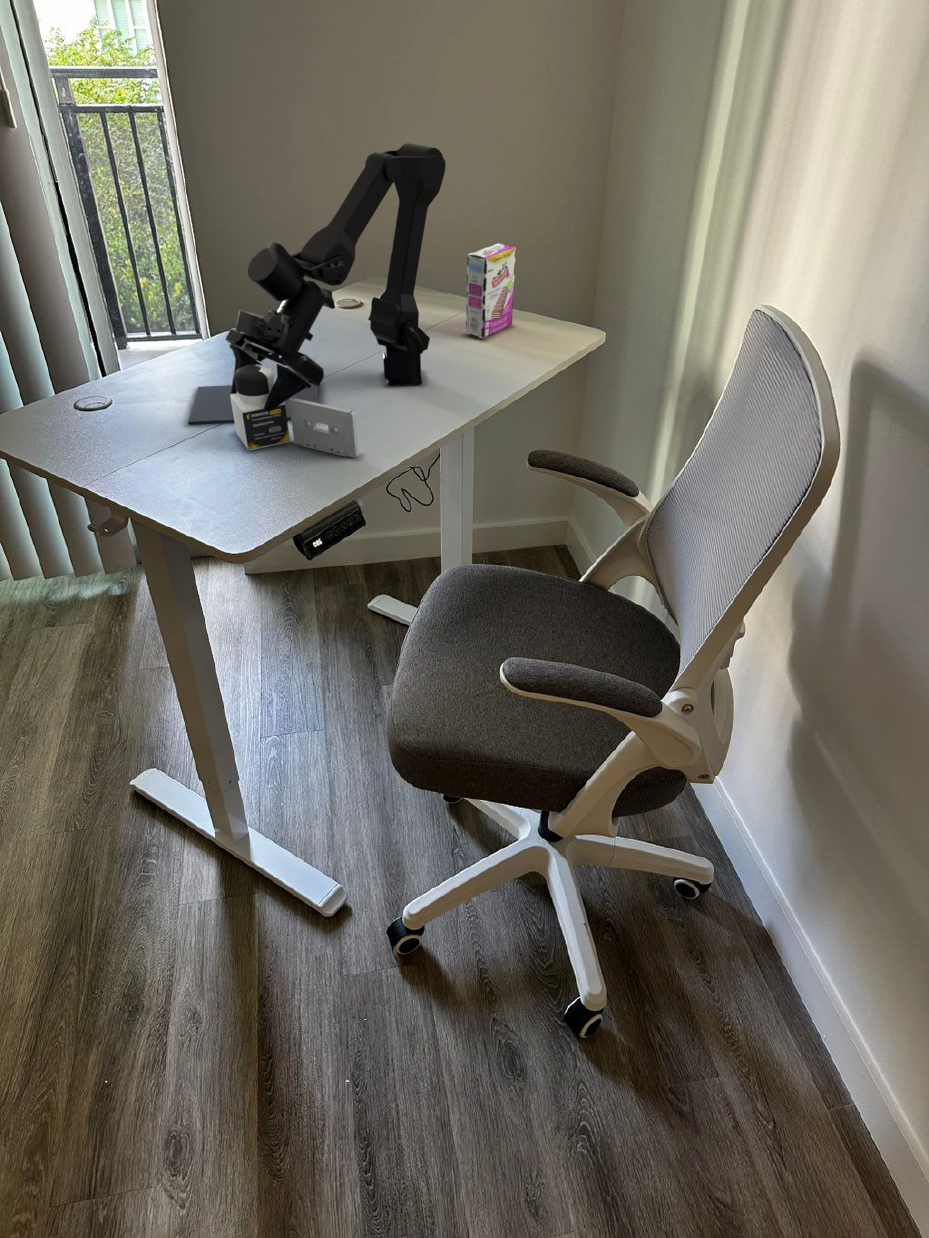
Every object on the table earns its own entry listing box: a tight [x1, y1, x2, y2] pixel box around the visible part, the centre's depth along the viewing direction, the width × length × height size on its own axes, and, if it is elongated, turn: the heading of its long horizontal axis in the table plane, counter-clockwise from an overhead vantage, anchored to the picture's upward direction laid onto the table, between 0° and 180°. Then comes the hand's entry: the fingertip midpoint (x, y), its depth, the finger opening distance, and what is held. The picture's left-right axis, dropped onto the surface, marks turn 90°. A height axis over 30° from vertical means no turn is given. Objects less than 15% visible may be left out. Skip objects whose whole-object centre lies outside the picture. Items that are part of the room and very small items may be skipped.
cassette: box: [289, 398, 359, 459], centre depth 137 cm, size 12×2×8 cm, turn 64°
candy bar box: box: [465, 243, 517, 340], centre depth 178 cm, size 11×5×16 cm, turn 144°
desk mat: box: [187, 383, 320, 426], centre depth 153 cm, size 22×15×1 cm
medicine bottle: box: [230, 364, 291, 452], centre depth 139 cm, size 7×7×12 cm
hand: (249, 402), depth 138 cm, fingers closed on medicine bottle, 8 cm apart
